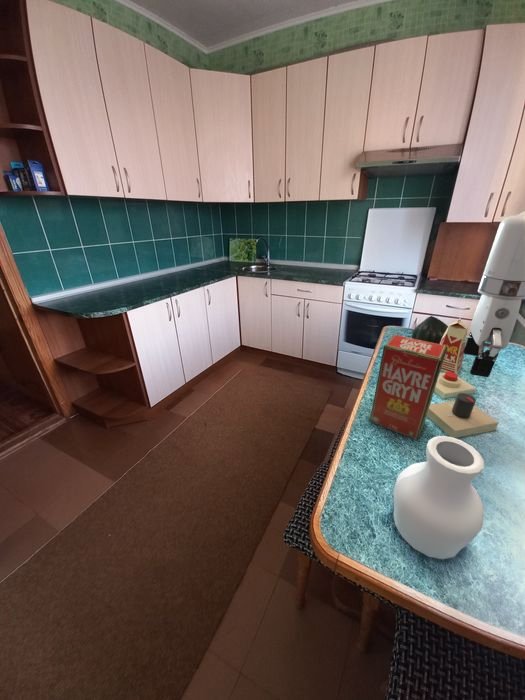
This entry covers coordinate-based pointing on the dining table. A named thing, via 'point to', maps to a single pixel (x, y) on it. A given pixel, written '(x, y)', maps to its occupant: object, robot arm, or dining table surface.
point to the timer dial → (463, 405)
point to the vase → (440, 499)
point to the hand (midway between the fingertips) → (474, 364)
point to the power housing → (452, 387)
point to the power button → (450, 376)
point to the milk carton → (454, 346)
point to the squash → (430, 330)
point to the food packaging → (406, 384)
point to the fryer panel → (460, 420)
